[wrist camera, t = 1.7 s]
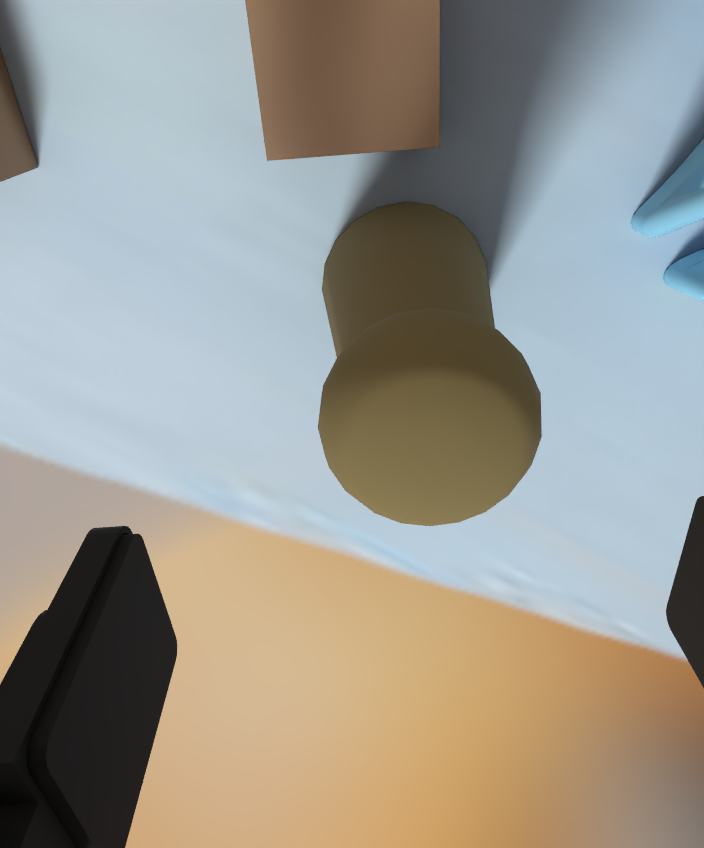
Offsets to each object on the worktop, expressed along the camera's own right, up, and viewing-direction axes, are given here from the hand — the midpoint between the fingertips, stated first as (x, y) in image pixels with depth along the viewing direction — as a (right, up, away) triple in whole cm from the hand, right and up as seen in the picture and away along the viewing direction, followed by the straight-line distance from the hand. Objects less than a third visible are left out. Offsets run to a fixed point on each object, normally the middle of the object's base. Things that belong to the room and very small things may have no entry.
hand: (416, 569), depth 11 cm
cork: (+1, +8, +12) cm, 14 cm away
